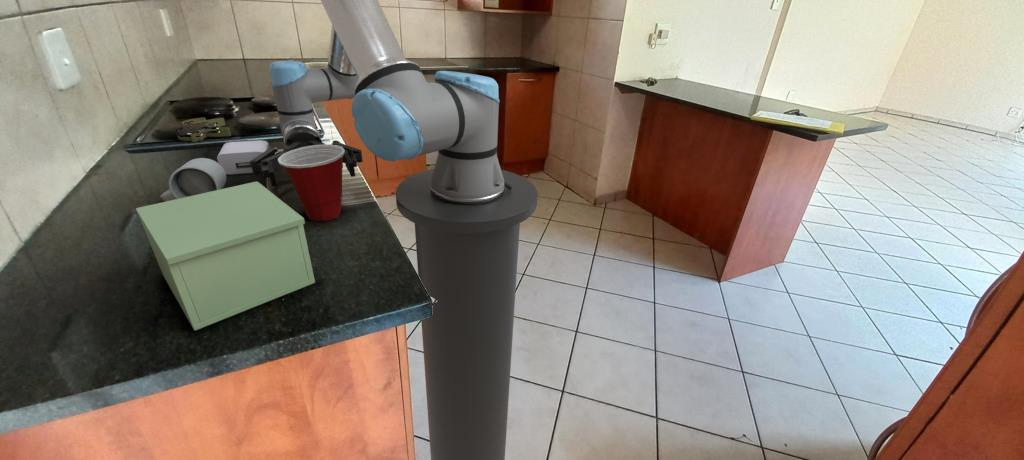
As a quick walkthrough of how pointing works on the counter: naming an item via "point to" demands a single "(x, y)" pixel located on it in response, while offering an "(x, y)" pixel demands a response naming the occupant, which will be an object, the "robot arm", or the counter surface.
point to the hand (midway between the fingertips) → (314, 174)
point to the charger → (240, 155)
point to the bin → (238, 275)
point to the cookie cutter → (199, 120)
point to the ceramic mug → (195, 179)
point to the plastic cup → (316, 178)
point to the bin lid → (215, 220)
